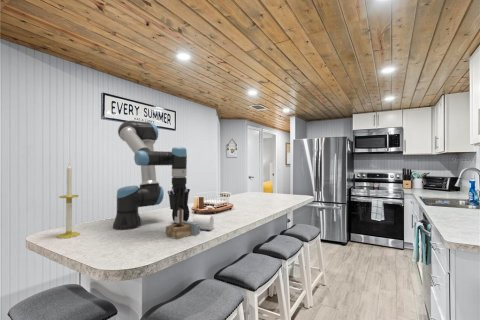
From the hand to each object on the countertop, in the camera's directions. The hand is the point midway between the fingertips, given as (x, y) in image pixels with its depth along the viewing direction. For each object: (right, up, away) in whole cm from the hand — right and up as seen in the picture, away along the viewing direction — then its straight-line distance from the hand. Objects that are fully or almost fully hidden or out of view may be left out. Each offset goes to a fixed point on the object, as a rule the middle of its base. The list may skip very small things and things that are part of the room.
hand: (178, 222), depth 132 cm
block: (0, -7, 0) cm, 7 cm away
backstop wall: (+4, -7, +6) cm, 10 cm away
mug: (+11, -7, +14) cm, 20 cm away
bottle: (-5, -7, +26) cm, 27 cm away
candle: (-56, -7, -1) cm, 57 cm away
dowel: (0, -3, 0) cm, 3 cm away
